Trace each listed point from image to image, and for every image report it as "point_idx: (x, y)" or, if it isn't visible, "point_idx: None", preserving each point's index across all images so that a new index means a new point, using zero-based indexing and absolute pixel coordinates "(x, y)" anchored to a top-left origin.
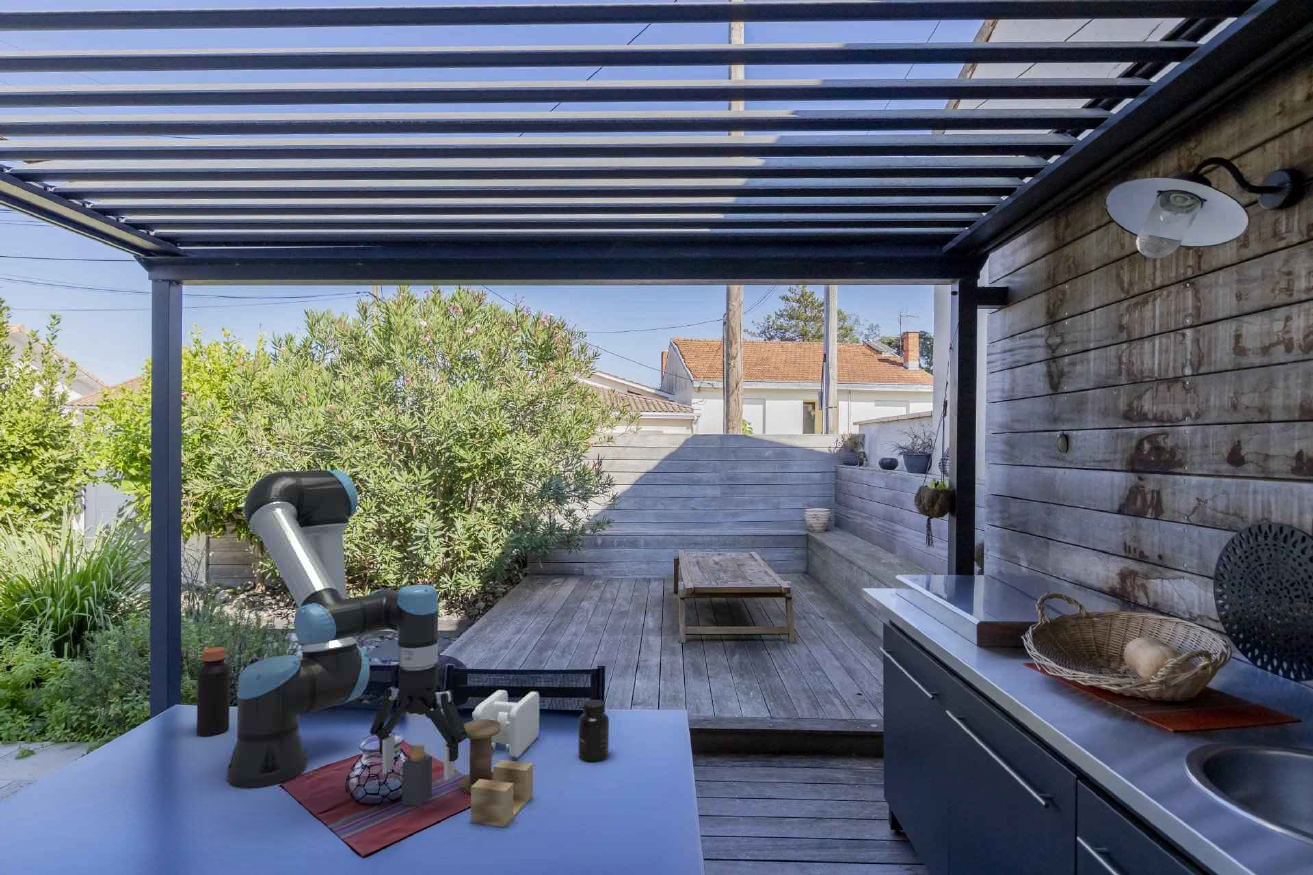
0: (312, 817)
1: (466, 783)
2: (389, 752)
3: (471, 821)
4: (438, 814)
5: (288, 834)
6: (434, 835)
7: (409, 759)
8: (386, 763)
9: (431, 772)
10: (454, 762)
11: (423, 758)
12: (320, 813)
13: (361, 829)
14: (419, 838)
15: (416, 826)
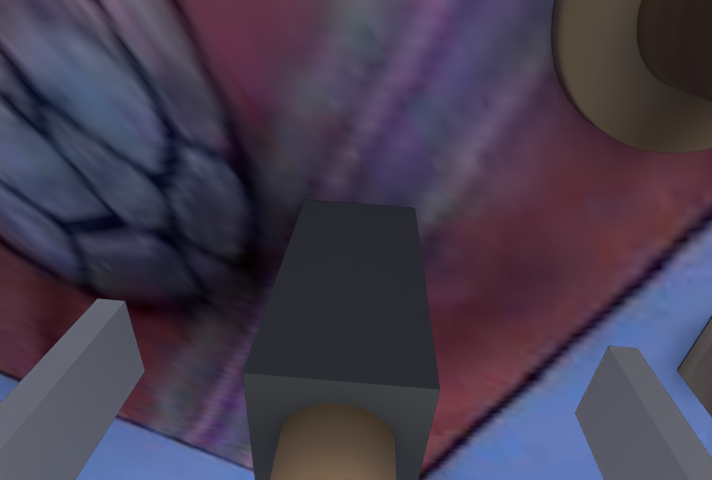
0: None
1: (617, 82)
2: (51, 461)
3: (681, 373)
4: (514, 337)
5: (86, 467)
6: (545, 440)
7: (271, 443)
8: (108, 419)
9: (426, 297)
10: (688, 428)
11: (394, 453)
12: None
13: None
14: (498, 454)
15: (457, 408)
